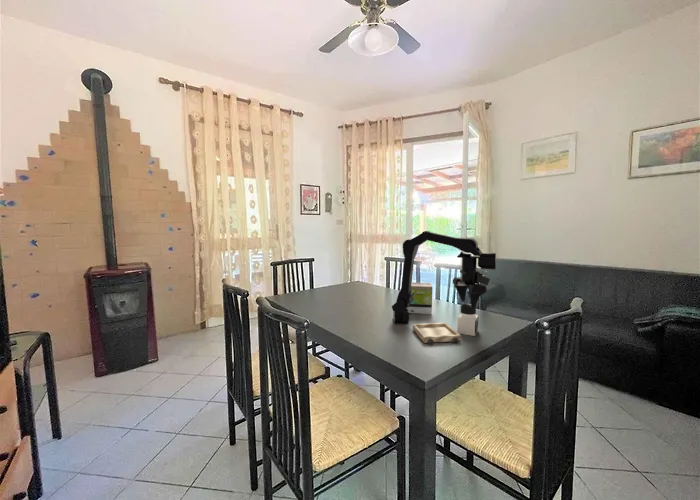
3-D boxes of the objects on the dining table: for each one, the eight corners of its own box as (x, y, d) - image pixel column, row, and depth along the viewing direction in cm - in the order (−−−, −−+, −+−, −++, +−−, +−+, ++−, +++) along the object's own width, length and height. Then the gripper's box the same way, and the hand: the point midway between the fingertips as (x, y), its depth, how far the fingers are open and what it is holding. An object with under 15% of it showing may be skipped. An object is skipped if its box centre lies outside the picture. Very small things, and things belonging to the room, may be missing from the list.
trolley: (424, 344, 117) (425, 338, 117) (412, 329, 134) (412, 323, 134) (462, 342, 119) (462, 336, 118) (444, 327, 136) (444, 321, 135)
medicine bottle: (475, 336, 125) (475, 308, 124) (457, 333, 129) (457, 305, 128) (478, 331, 131) (478, 304, 130) (460, 328, 135) (461, 301, 134)
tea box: (402, 313, 157) (402, 285, 155) (401, 308, 167) (401, 281, 165) (432, 314, 155) (432, 286, 153) (429, 308, 165) (430, 282, 163)
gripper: (500, 271, 119) (498, 310, 120) (476, 264, 137) (475, 298, 139) (473, 272, 118) (472, 311, 119) (452, 265, 136) (451, 299, 138)
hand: (468, 304), depth 129 cm, fingers open, 9 cm apart
